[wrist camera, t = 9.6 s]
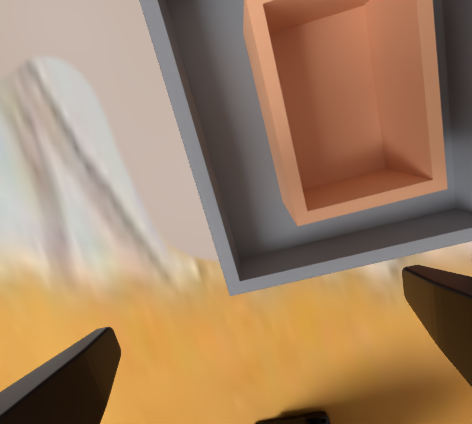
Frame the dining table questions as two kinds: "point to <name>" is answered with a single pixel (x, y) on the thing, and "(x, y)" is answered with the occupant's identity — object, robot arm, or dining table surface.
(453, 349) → the robot arm
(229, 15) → the big crate
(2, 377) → the dining table surface
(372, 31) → the small crate
